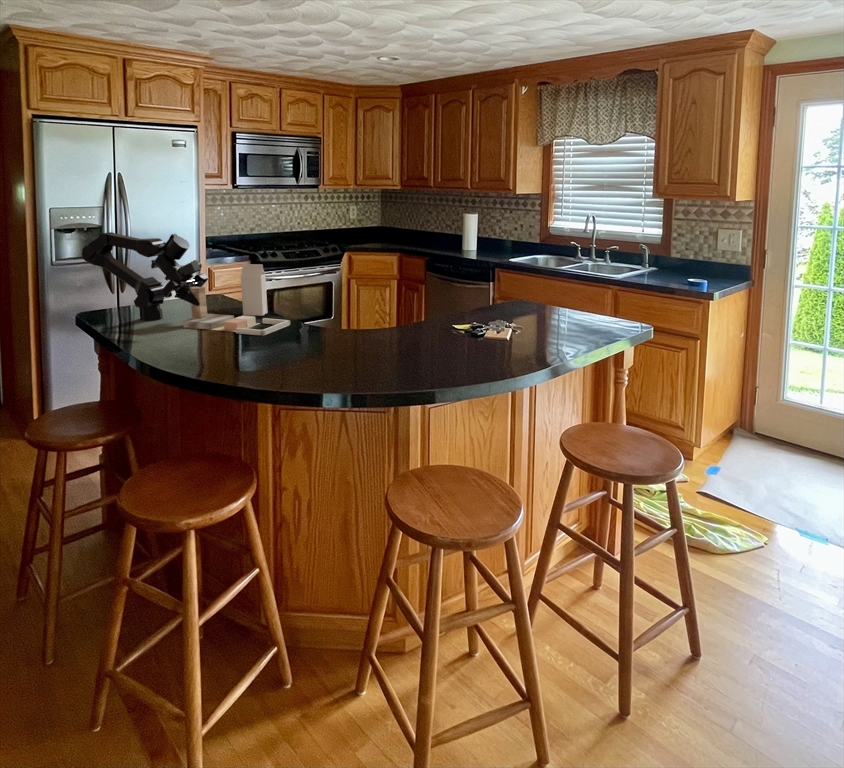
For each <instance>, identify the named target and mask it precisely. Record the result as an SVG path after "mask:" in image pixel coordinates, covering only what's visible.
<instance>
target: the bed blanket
mask: <svg viewBox="0 0 844 768" xmlns="http://www.w3.org/2000/svg"><path fill="white" fill-rule="evenodd" d="M190 291H191V292H192V294H193V295H194V296H195V298H196V299H197V300H198V302H199V303H200V305H199V306H196V305H194V304H191V303H190V305H191V307H190V309H191V317H190V318H187V319H184V320H182V323H183V328H187V327H193V328H192V329H198V328H204V329H203V330H209V329H214V328H217V327H220V326H223V325H224V322H225V321H228V320H231V319H234V318H235V315H231V314H230V315H229V314H219V313H218V314H217V313H216V314H215V313H208V309H207V303H206V301H207V297H206V296H207V292H206V287H205V286H202V287H193V288H190Z"/></svg>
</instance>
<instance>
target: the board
mask: <svg viewBox="0 0 844 768" xmlns="http://www.w3.org/2000/svg"><path fill="white" fill-rule="evenodd" d="M260 324H261V323H260V322H256V324H254V325H252V326H249V327H246V329H251V328H252V327H255V326H257V325H260ZM186 328H188V329H194V328H193V327H186ZM197 329H200V330H205V329H204V328H197ZM208 330H209V331H219V332H220V331H221V332H223V331H224V332H231V333H232V332H233V333H234V332H235V333H236V331H235V330H224V325H223V326H220V327H217V328H214V329H208Z"/></svg>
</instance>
